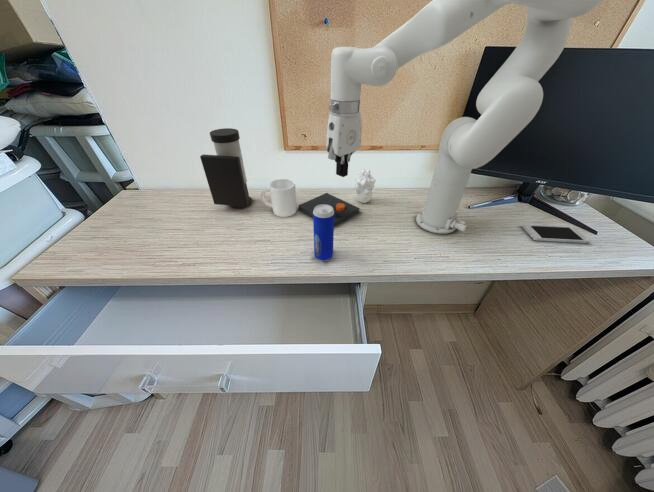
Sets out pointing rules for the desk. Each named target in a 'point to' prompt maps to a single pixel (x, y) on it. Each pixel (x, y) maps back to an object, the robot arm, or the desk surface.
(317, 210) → the beverage can
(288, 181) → the mug
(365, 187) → the figurine
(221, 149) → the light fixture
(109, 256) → the desk surface
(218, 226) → the desk surface
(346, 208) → the scale
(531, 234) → the smartphone
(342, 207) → the tare button
